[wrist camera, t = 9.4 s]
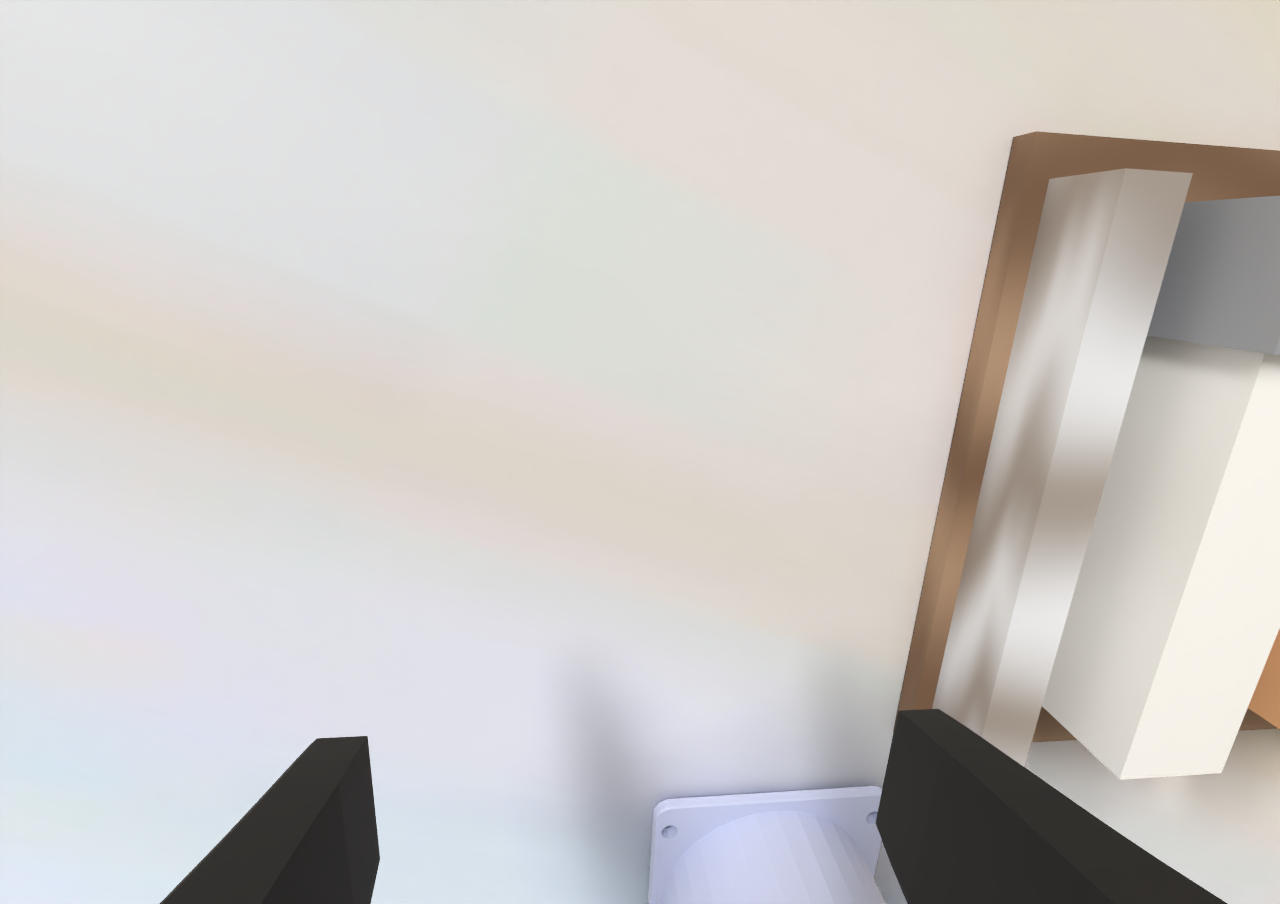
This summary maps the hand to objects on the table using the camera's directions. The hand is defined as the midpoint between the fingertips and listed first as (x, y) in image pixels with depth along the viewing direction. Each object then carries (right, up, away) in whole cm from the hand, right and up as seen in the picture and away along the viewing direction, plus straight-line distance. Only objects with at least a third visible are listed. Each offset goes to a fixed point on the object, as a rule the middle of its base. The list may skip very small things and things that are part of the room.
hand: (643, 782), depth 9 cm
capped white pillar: (+14, +4, +10) cm, 17 cm away
